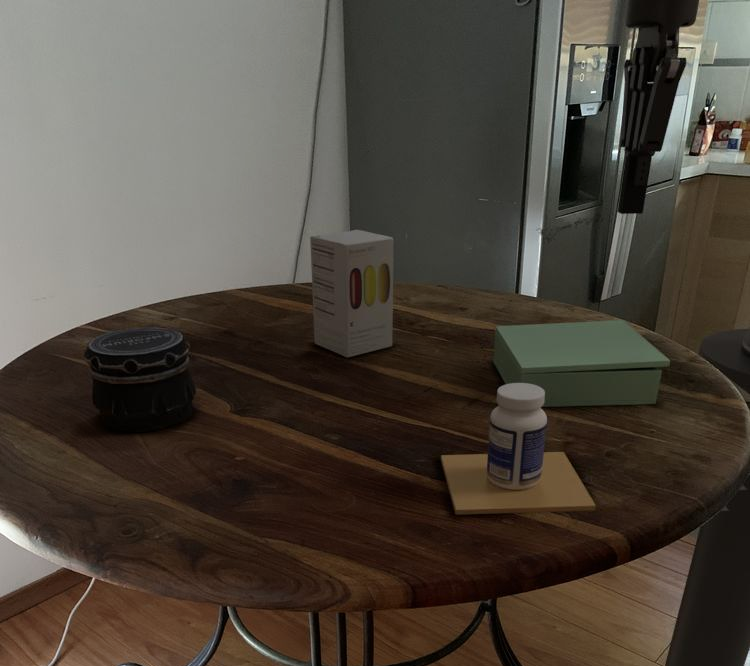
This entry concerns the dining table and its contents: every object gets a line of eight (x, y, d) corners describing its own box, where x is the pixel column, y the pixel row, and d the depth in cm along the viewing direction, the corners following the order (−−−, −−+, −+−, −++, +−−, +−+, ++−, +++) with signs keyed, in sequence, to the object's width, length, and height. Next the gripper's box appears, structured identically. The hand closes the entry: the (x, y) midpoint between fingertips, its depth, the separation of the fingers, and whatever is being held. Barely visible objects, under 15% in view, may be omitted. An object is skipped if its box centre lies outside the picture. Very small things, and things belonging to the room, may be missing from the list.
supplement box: (347, 359, 112) (343, 244, 104) (312, 344, 119) (307, 235, 110) (394, 346, 118) (395, 236, 109) (359, 332, 124) (357, 227, 115)
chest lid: (622, 325, 109) (623, 319, 109) (669, 366, 94) (670, 360, 93) (495, 331, 109) (495, 326, 108) (521, 373, 93) (521, 367, 93)
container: (153, 389, 102) (141, 318, 97) (219, 409, 96) (210, 334, 91) (75, 420, 93) (57, 344, 88) (143, 444, 87) (128, 364, 82)
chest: (611, 358, 112) (616, 329, 109) (655, 404, 96) (662, 370, 94) (493, 361, 111) (495, 331, 109) (518, 407, 96) (521, 374, 93)
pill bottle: (535, 466, 80) (545, 380, 75) (544, 492, 75) (555, 401, 70) (483, 466, 80) (489, 379, 75) (488, 491, 75) (495, 401, 70)
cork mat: (563, 456, 83) (563, 451, 83) (595, 510, 73) (595, 505, 73) (440, 459, 83) (440, 455, 83) (455, 515, 73) (455, 509, 72)
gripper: (612, -10, 86) (585, 205, 98) (654, -22, 75) (617, 222, 87) (675, -10, 86) (640, 204, 98) (726, -22, 75) (680, 221, 87)
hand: (629, 212), depth 92 cm, fingers closed
